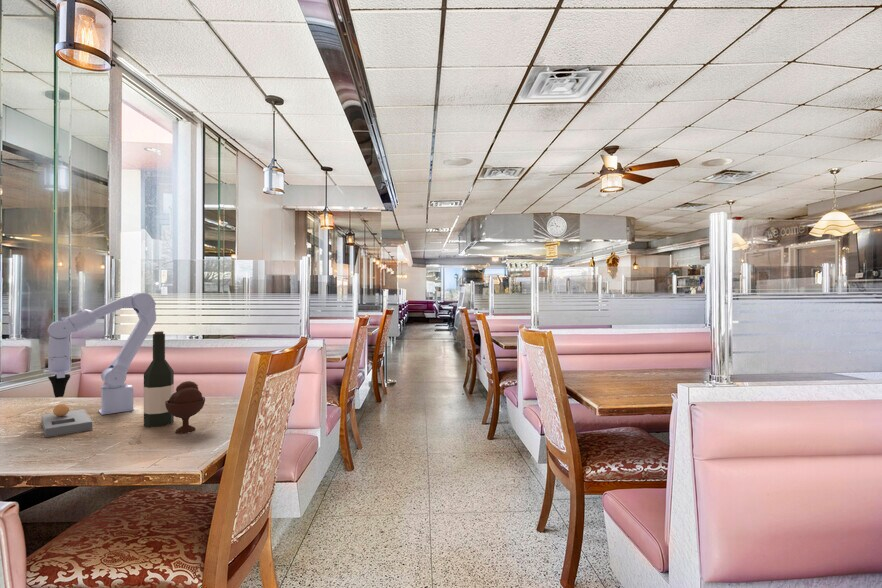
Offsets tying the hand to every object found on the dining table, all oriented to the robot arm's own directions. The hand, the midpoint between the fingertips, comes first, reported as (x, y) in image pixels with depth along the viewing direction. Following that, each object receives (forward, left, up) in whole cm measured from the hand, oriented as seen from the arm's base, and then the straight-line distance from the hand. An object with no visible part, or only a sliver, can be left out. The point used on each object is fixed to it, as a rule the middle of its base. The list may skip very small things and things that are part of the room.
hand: (59, 396), depth 152 cm
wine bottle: (-23, +30, -8) cm, 39 cm away
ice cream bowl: (-27, +45, -8) cm, 53 cm away
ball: (0, +8, -3) cm, 9 cm away
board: (-1, +12, -8) cm, 14 cm away
